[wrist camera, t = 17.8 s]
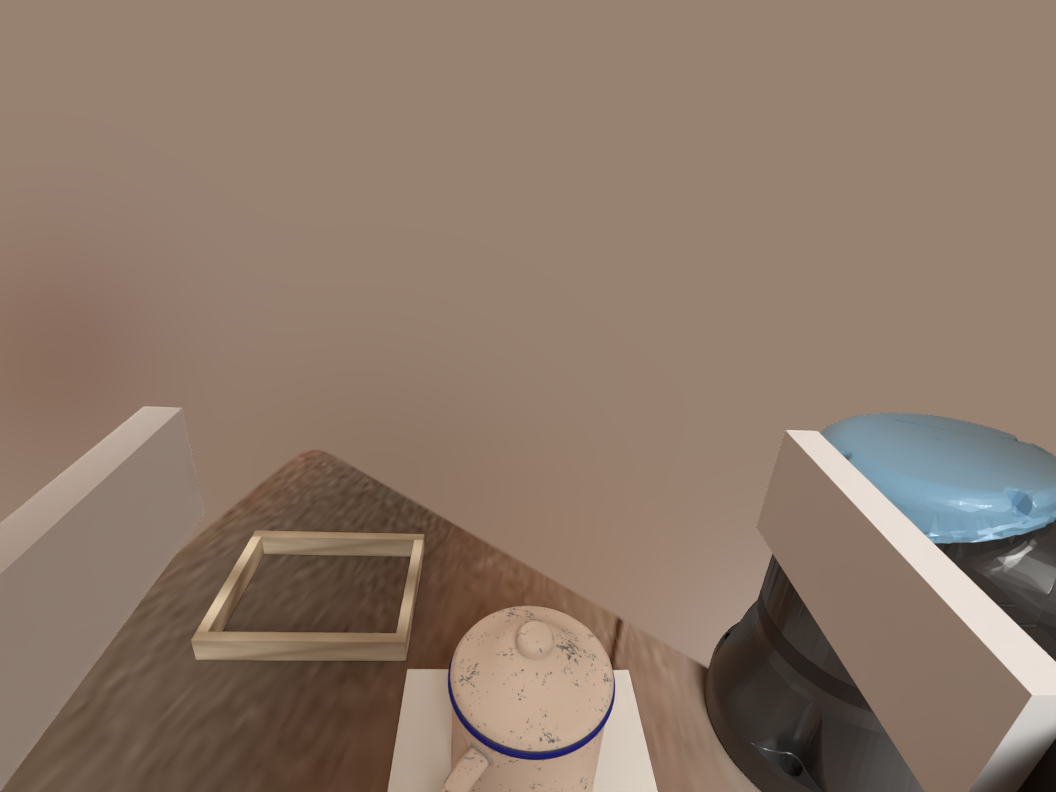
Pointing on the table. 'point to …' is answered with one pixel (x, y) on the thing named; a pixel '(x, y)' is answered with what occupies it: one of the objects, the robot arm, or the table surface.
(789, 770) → the robot arm
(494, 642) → the teacup with lid
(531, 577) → the table surface
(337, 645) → the cup holder
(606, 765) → the ceramic board
